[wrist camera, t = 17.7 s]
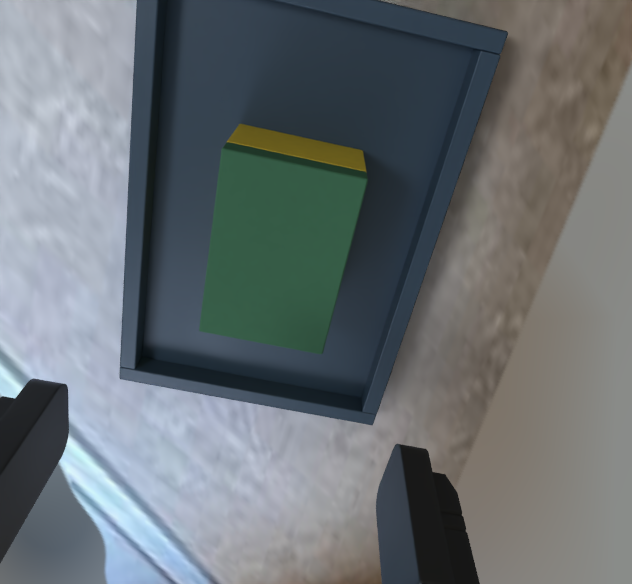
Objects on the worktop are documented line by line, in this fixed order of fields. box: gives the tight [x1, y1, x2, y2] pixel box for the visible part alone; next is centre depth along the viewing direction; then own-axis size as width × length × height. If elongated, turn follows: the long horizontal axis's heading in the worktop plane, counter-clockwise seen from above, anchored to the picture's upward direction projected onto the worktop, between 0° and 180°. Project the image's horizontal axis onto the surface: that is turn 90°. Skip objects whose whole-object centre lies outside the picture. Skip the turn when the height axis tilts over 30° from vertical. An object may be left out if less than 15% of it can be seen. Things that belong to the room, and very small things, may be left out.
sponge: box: [199, 124, 368, 354], centre depth 23 cm, size 8×5×4 cm
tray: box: [120, 0, 508, 425], centre depth 25 cm, size 20×14×2 cm
